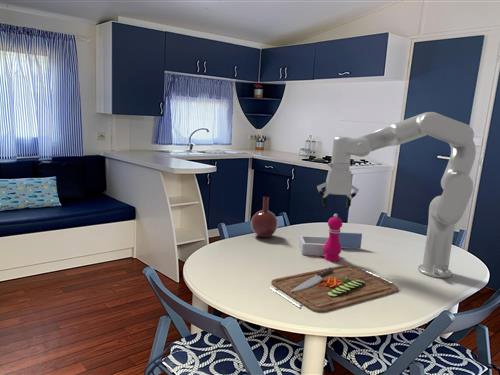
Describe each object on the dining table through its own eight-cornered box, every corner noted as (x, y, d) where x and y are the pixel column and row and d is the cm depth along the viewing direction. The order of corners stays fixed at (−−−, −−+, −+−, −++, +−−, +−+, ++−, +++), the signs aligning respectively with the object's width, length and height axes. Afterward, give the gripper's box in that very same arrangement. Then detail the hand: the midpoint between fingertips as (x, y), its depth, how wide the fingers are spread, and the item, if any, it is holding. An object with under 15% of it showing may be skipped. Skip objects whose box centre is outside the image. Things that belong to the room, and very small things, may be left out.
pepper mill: (341, 262, 175) (346, 216, 172) (324, 261, 175) (328, 215, 172) (338, 256, 182) (342, 212, 179) (322, 255, 182) (326, 211, 179)
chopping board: (310, 317, 127) (311, 308, 127) (261, 284, 149) (262, 276, 149) (406, 290, 151) (407, 282, 151) (351, 266, 173) (352, 259, 173)
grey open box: (336, 256, 182) (337, 245, 182) (302, 254, 182) (303, 243, 181) (330, 247, 195) (331, 237, 194) (298, 245, 194) (299, 235, 193)
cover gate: (359, 247, 196) (361, 231, 194) (360, 248, 195) (362, 231, 193) (331, 246, 195) (333, 229, 194) (332, 247, 194) (334, 230, 193)
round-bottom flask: (250, 232, 212) (252, 193, 209) (276, 233, 212) (279, 195, 208) (249, 239, 199) (252, 198, 196) (277, 241, 199) (280, 200, 195)
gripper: (320, 166, 168) (316, 208, 171) (363, 169, 168) (358, 210, 171) (317, 164, 175) (313, 204, 178) (358, 166, 176) (354, 206, 179)
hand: (335, 207), depth 175 cm, fingers open, 9 cm apart
